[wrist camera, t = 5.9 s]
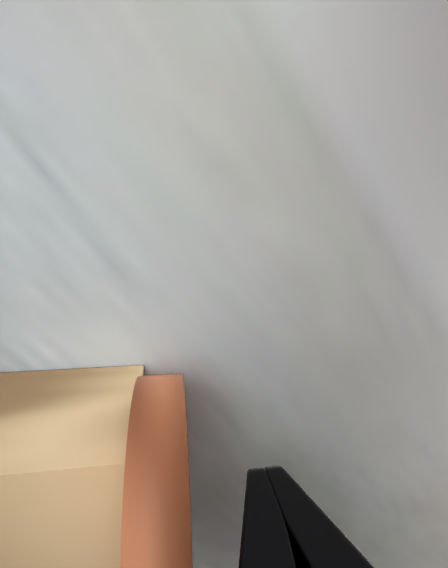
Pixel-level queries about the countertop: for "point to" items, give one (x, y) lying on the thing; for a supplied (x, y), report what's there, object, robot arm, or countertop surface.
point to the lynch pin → (94, 469)
